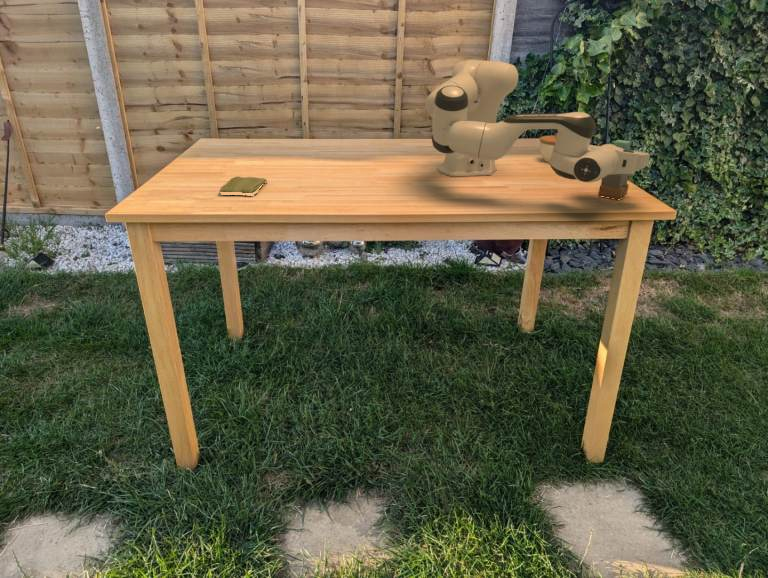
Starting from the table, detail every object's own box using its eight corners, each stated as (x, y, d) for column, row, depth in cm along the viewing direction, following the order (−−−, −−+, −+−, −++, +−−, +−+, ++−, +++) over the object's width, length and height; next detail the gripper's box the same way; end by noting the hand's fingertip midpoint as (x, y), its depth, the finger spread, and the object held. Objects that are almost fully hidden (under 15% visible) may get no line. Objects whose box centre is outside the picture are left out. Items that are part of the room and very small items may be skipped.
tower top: (618, 188, 175) (621, 176, 174) (600, 184, 179) (603, 172, 177) (626, 184, 179) (629, 172, 177) (609, 181, 183) (611, 169, 181)
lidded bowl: (573, 165, 217) (577, 136, 212) (541, 165, 217) (545, 136, 212) (564, 157, 228) (568, 130, 223) (534, 157, 228) (537, 130, 223)
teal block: (620, 175, 175) (626, 143, 170) (608, 172, 177) (613, 141, 172) (625, 172, 177) (631, 141, 173) (612, 170, 180) (618, 139, 175)
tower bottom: (619, 201, 176) (621, 189, 175) (597, 197, 180) (600, 185, 178) (626, 196, 181) (628, 184, 179) (605, 192, 185) (607, 180, 183)
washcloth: (269, 183, 197) (268, 174, 195) (255, 198, 181) (254, 189, 180) (234, 182, 198) (232, 174, 196) (216, 197, 182) (215, 188, 181)
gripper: (571, 164, 173) (588, 156, 182) (638, 175, 161) (652, 166, 171) (574, 144, 170) (591, 137, 179) (642, 154, 158) (656, 145, 168)
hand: (621, 151), depth 175 cm, fingers open, 6 cm apart
